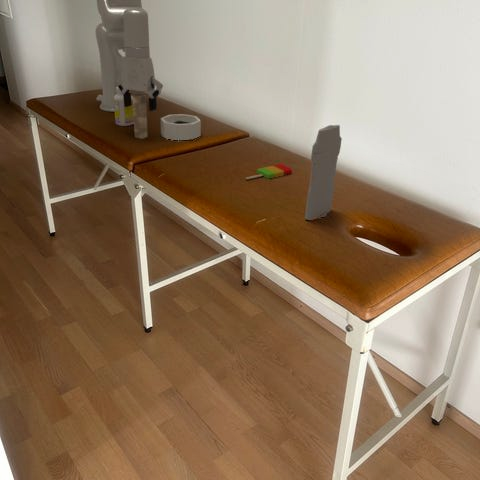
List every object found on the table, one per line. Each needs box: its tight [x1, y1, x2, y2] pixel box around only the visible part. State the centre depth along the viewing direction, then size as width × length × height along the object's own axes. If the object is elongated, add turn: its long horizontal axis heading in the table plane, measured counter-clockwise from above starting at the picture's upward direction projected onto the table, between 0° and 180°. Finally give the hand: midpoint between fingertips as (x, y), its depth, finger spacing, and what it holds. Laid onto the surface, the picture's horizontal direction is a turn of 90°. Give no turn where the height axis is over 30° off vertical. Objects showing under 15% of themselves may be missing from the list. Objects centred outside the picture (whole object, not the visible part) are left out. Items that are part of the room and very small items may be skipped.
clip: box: [174, 120, 190, 124], centre depth 175 cm, size 6×6×3 cm
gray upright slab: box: [304, 124, 343, 220], centre depth 119 cm, size 11×4×22 cm, turn 136°
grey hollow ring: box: [160, 113, 202, 142], centre depth 175 cm, size 13×13×6 cm
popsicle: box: [245, 163, 293, 180], centre depth 146 cm, size 6×15×2 cm, turn 126°
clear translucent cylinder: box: [132, 93, 149, 140], centre depth 169 cm, size 3×3×14 cm
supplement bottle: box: [114, 87, 134, 127], centre depth 183 cm, size 7×7×13 cm
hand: (140, 108), depth 167 cm, fingers open, 9 cm apart
